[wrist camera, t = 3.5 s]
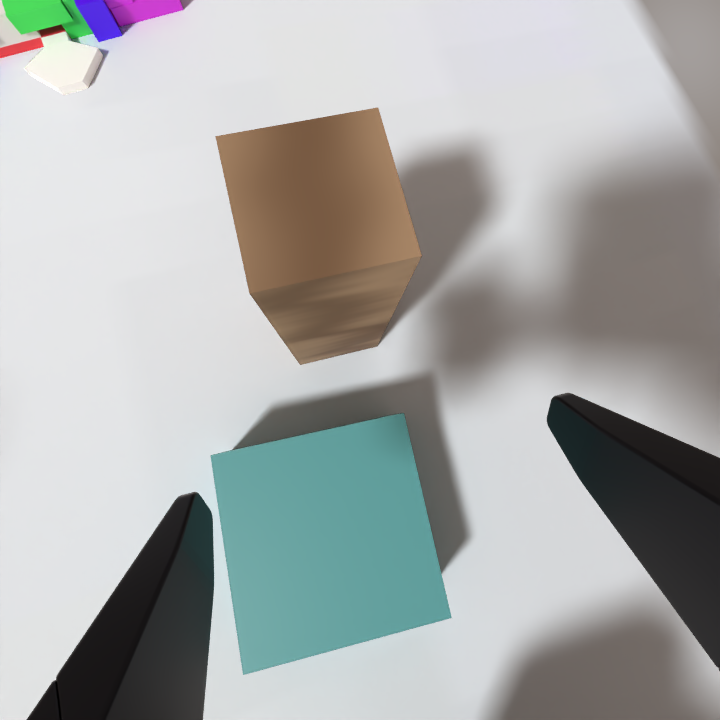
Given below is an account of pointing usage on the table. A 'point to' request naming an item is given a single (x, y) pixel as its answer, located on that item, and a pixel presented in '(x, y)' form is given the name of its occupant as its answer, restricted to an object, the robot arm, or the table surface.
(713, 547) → the robot arm
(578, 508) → the table surface
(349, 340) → the walnut pillar
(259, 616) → the teal base block
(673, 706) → the table surface
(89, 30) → the building block set
